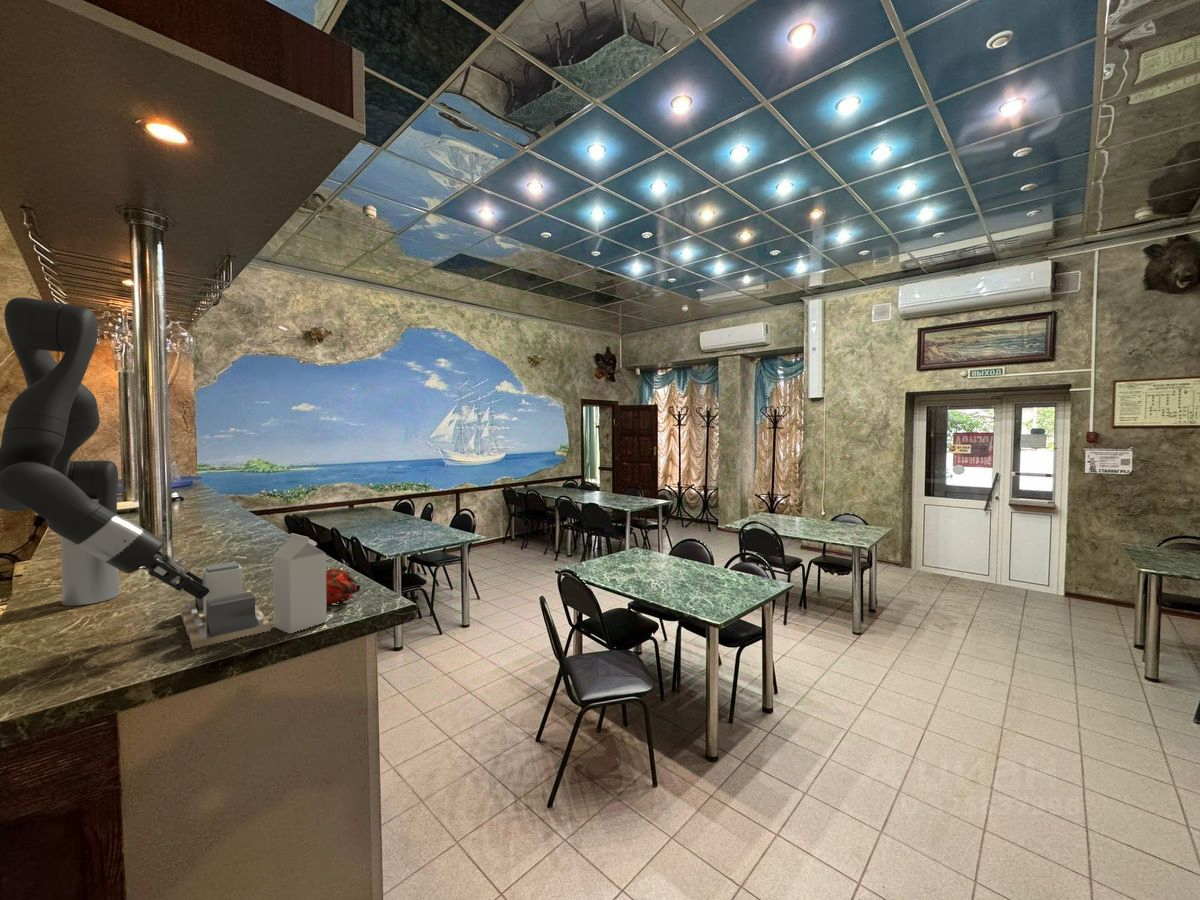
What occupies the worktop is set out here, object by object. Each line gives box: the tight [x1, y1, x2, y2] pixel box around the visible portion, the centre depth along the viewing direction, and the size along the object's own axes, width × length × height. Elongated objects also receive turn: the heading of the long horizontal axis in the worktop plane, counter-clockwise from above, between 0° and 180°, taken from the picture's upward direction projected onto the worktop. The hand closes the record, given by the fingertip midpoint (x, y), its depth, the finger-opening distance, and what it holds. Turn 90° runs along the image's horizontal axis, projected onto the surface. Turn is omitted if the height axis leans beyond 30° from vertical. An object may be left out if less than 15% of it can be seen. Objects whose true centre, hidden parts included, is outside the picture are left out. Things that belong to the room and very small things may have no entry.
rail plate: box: [179, 576, 272, 650], centre depth 100 cm, size 24×12×8 cm, turn 46°
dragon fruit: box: [326, 567, 361, 605], centre depth 112 cm, size 8×8×12 cm
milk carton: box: [272, 532, 327, 635], centre depth 98 cm, size 7×7×19 cm
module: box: [202, 561, 244, 623], centre depth 99 cm, size 5×6×11 cm
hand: (202, 590), depth 97 cm, fingers open, 8 cm apart
